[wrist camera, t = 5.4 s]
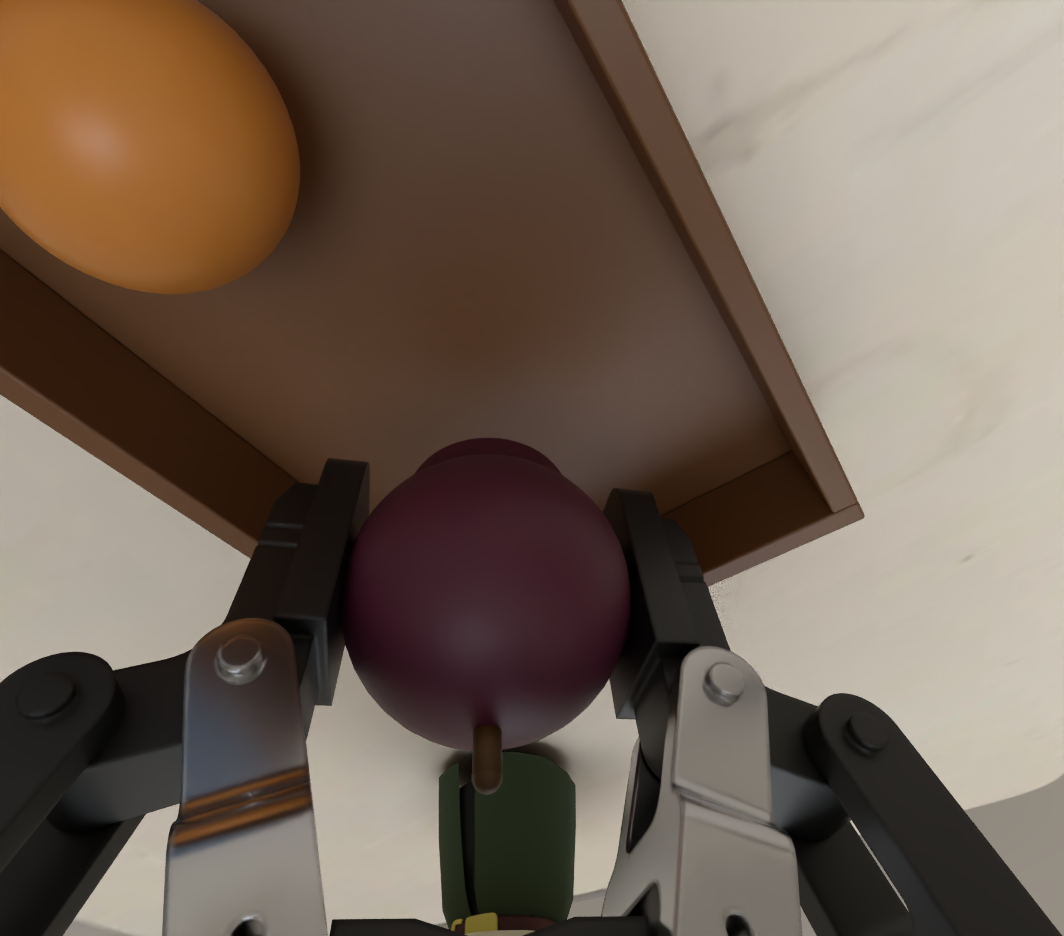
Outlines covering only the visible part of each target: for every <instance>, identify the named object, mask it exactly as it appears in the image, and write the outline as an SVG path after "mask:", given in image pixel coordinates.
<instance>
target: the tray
mask: <svg viewBox="0 0 1064 936" xmlns="http://www.w3.org/2000/svg"><path fill="white" fill-rule="evenodd" d="M197 1H199V2H200V3H202V4H203V5H204V6H206V7H207V8H208V9H210V10H211V11H213V12H214V13H215V14H217V15H218V16H219V17H220V18H221V19H222V20H223V21H224V22H226V23H227V24H228V25H229V26H230V27H231V28H232V29H233V30H234V31H235V32H236V33H237V34H238V35H239V36H240V37H241V38H242V39H243V40H244V42H245V43H246V44H247V45H248V46H249V47H250V48H251V49H252V51H253V52H254V53H255V55H256V56H257V57H258V59H259V60H260V61H261V63H262V64H263V65H264V67H265V68H266V70H267V72H268V73H269V75H270V77H271V78H272V80H273V81H274V83H275V85H276V86H277V88H278V90H279V93H280V95H281V97H282V99H283V101H284V103H285V105H286V107H287V110H288V113H289V116H290V119H291V121H292V124H293V127H294V132H295V136H296V140H297V144H298V151H299V159H300V185H299V192H298V199H297V204H296V208H295V211H294V215H293V218H292V220H291V223H290V225H289V227H288V229H287V231H286V233H285V235H284V236H283V238H282V240H281V241H280V243H279V244H278V245H277V247H276V248H275V250H274V251H273V252H272V253H271V254H270V255H269V256H268V257H267V258H266V259H265V261H264V262H262V263H261V264H260V265H259V266H258V267H256V268H255V269H254V270H252V271H251V272H249V273H248V274H247V275H245V276H243V277H241V278H239V279H237V280H235V281H233V282H231V283H229V284H226V285H224V286H221V287H218V288H215V289H212V290H207V291H201V292H196V293H188V294H158V293H148V292H141V291H136V290H131V289H126V288H123V287H120V286H116V285H113V284H110V283H107V282H105V281H102V280H100V279H97V278H95V277H92V276H90V275H88V274H85V273H83V272H81V271H79V270H78V269H76V268H74V267H72V266H70V265H68V264H66V263H65V262H63V261H62V260H60V259H58V258H57V257H55V256H54V255H52V254H51V253H49V252H48V251H47V250H45V249H44V248H43V247H41V246H40V245H39V244H37V243H36V242H35V241H34V240H32V239H31V238H30V237H29V236H28V235H27V234H26V233H24V232H23V231H22V230H21V229H20V228H19V227H18V226H17V225H16V224H15V223H14V222H13V221H12V220H11V219H10V218H9V217H8V216H7V215H6V213H5V212H4V211H3V210H2V209H1V207H0V394H1V395H2V396H4V397H5V398H7V399H8V400H10V401H11V402H13V403H14V404H16V405H17V406H19V407H20V408H22V409H23V410H25V411H26V412H28V413H29V414H31V415H33V416H34V417H36V418H37V419H39V420H40V421H42V422H43V423H45V424H46V425H48V426H49V427H51V428H52V429H54V430H55V431H57V432H58V433H60V434H61V435H63V436H64V437H66V438H68V439H69V440H71V441H72V442H74V443H75V444H77V445H78V446H80V447H81V448H83V449H84V450H86V451H87V452H89V453H90V454H92V455H93V456H95V457H96V458H98V459H100V460H101V461H103V462H104V463H106V464H107V465H109V466H110V467H112V468H113V469H115V470H116V471H118V472H119V473H121V474H122V475H124V476H125V477H127V478H128V479H130V480H132V481H133V482H135V483H136V484H138V485H139V486H141V487H142V488H144V489H145V490H147V491H148V492H150V493H151V494H153V495H154V496H156V497H157V498H159V499H160V500H162V501H163V502H165V503H167V504H168V505H170V506H171V507H173V508H174V509H176V510H177V511H179V512H180V513H182V514H183V515H185V516H186V517H188V518H189V519H191V520H192V521H194V522H195V523H197V524H199V525H200V526H202V527H203V528H205V529H206V530H208V531H209V532H211V533H212V534H214V535H215V536H217V537H218V538H220V539H221V540H223V541H224V542H226V543H227V544H229V545H231V546H232V547H234V548H235V549H237V550H238V551H240V552H241V553H243V554H244V555H246V556H247V557H249V558H250V559H251V557H252V555H253V552H254V550H255V548H256V546H258V540H259V538H260V536H261V533H262V531H263V529H264V527H266V521H267V519H268V517H269V514H270V512H271V509H272V507H273V505H274V502H275V500H276V499H277V498H279V497H280V496H281V495H282V494H283V493H284V492H285V491H286V490H287V489H288V488H290V487H291V486H292V485H293V484H294V483H295V482H297V483H307V484H318V483H319V481H320V478H321V475H322V472H323V469H324V466H325V463H326V461H327V459H328V458H335V459H345V460H355V461H365V462H369V466H370V494H369V515H370V514H371V513H372V511H373V510H374V509H375V508H376V506H377V505H378V504H379V503H380V502H381V501H382V500H383V499H384V498H385V497H386V496H387V495H388V494H389V493H390V492H391V491H392V490H393V489H394V488H396V487H397V486H398V485H400V484H401V483H402V482H404V481H405V480H407V479H408V478H409V477H411V476H412V475H414V474H415V472H416V471H417V469H418V468H419V467H420V466H421V464H422V463H424V462H425V461H426V460H427V459H428V458H429V457H430V456H431V455H433V454H434V453H436V452H437V451H439V450H441V449H442V448H444V447H446V446H449V445H451V444H454V443H456V442H460V441H464V440H468V439H475V438H502V439H508V440H512V441H516V442H520V443H523V444H525V445H527V446H530V447H532V448H534V449H536V450H537V451H539V452H541V453H542V454H543V455H545V456H546V457H547V458H548V459H549V460H550V461H551V462H552V463H554V464H555V466H556V467H557V468H558V470H559V471H560V472H561V474H562V475H563V476H564V477H566V478H567V479H569V480H570V481H571V482H573V483H574V484H575V485H577V486H578V487H579V488H580V489H582V490H583V491H584V492H585V493H586V494H587V495H588V496H589V497H590V498H591V499H592V500H593V501H594V503H595V504H596V505H597V506H598V507H599V509H600V510H601V511H602V513H603V511H604V508H605V505H606V502H607V499H608V496H609V494H610V492H611V490H612V489H613V488H623V489H632V490H642V491H650V492H651V493H652V494H653V496H654V499H655V502H656V505H657V508H658V512H659V515H660V518H667V519H674V520H675V521H676V522H677V524H678V525H679V526H680V527H681V528H682V530H683V531H684V532H685V533H686V534H687V536H688V537H689V538H690V540H691V542H692V545H693V548H694V551H695V554H696V556H697V559H698V562H697V563H698V564H699V565H700V567H701V570H702V573H703V576H704V582H706V584H707V587H708V586H710V585H713V584H715V583H717V582H719V581H722V580H724V579H726V578H729V577H731V576H733V575H735V574H738V573H740V572H742V571H744V570H747V569H749V568H751V567H754V566H756V565H758V564H760V563H763V562H765V561H767V560H770V559H772V558H774V557H776V556H779V555H781V554H783V553H785V552H788V551H790V550H792V549H795V548H797V547H799V546H801V545H804V544H806V543H808V542H811V541H813V540H815V539H817V538H820V537H822V536H824V535H826V534H829V533H831V532H833V531H836V530H838V529H840V528H842V527H845V526H847V525H849V524H852V523H854V522H856V521H858V520H861V519H863V518H864V513H863V511H862V509H861V507H860V504H859V502H858V501H857V498H856V496H855V494H854V492H853V490H852V487H851V485H850V483H849V481H848V479H847V477H846V475H845V473H844V471H843V468H842V466H841V464H840V462H839V460H838V458H837V456H836V454H835V451H834V449H833V447H832V445H831V443H830V441H829V439H828V437H827V435H826V432H825V430H824V428H823V426H822V424H821V422H820V420H819V418H818V415H817V413H816V411H815V409H814V407H813V405H812V403H811V401H810V399H809V396H808V394H807V392H806V390H805V388H804V386H803V384H802V382H801V379H800V377H799V375H798V373H797V371H796V369H795V367H794V365H793V363H792V360H791V358H790V356H789V354H788V352H787V350H786V348H785V346H784V343H783V341H782V339H781V337H780V335H779V333H778V331H777V329H776V327H775V324H774V322H773V320H772V318H771V316H770V314H769V312H768V310H767V308H766V305H765V303H764V301H763V299H762V297H761V295H760V293H759V291H758V288H757V286H756V284H755V282H754V280H753V278H752V276H751V274H750V272H749V269H748V267H747V265H746V263H745V261H744V259H743V257H742V255H741V252H740V250H739V248H738V246H737V244H736V242H735V240H734V238H733V236H732V233H731V231H730V229H729V227H728V225H727V223H726V221H725V219H724V216H723V214H722V212H721V210H720V208H719V206H718V204H717V202H716V200H715V197H714V195H713V193H712V191H711V189H710V187H709V185H708V183H707V180H706V178H705V176H704V174H703V172H702V170H701V168H700V166H699V164H698V161H697V159H696V157H695V155H694V153H693V151H692V149H691V147H690V144H689V142H688V140H687V138H686V136H685V134H684V132H683V130H682V128H681V125H680V123H679V121H678V119H677V117H676V115H675V113H674V111H673V108H672V106H671V104H670V102H669V100H668V98H667V96H666V94H665V92H664V89H663V87H662V85H661V83H660V81H659V79H658V77H657V75H656V72H655V70H654V68H653V66H652V64H651V62H650V60H649V58H648V56H647V53H646V51H645V49H644V47H643V45H642V43H641V41H640V39H639V36H638V34H637V32H636V30H635V28H634V26H633V24H632V22H631V20H630V17H629V15H628V13H627V11H626V9H625V7H624V5H623V3H622V0H197Z"/></svg>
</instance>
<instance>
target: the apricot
mask: <svg viewBox="0 0 1064 936" xmlns="http://www.w3.org/2000/svg"><path fill="white" fill-rule="evenodd" d="M299 185H300V159H299V151H298V144H297V140H296V136H295V132H294V127H293V124H292V121H291V119H290V116H289V113H288V110H287V107H286V105H285V103H284V101H283V99H282V97H281V95H280V93H279V90H278V88H277V86H276V85H275V83H274V81H273V80H272V78H271V77H270V75H269V73H268V72H267V70H266V68H265V67H264V65H263V64H262V63H261V61H260V60H259V59H258V57H257V56H256V55H255V53H254V52H253V51H252V49H251V48H250V47H249V46H248V45H247V44H246V43H245V42H244V40H243V39H242V38H241V37H240V36H239V35H238V34H237V33H236V32H235V31H234V30H233V29H232V28H231V27H230V26H229V25H228V24H227V23H226V22H224V21H223V20H222V19H221V18H220V17H219V16H218V15H217V14H215V13H214V12H213V11H211V10H210V9H208V8H207V7H206V6H204V5H203V4H202V3H200V2H199V1H197V0H0V207H1V209H2V210H3V211H4V212H5V213H6V215H7V216H8V217H9V218H10V219H11V220H12V221H13V222H14V223H15V224H16V225H17V226H18V227H19V228H20V229H21V230H22V231H23V232H24V233H26V234H27V235H28V236H29V237H30V238H31V239H32V240H34V241H35V242H36V243H37V244H39V245H40V246H41V247H43V248H44V249H45V250H47V251H48V252H49V253H51V254H52V255H54V256H55V257H57V258H58V259H60V260H62V261H63V262H65V263H66V264H68V265H70V266H72V267H74V268H76V269H78V270H79V271H81V272H83V273H85V274H88V275H90V276H92V277H95V278H97V279H100V280H102V281H105V282H107V283H110V284H113V285H116V286H120V287H123V288H126V289H131V290H136V291H141V292H148V293H158V294H188V293H196V292H201V291H207V290H212V289H215V288H218V287H221V286H224V285H226V284H229V283H231V282H233V281H235V280H237V279H239V278H241V277H243V276H245V275H247V274H248V273H249V272H251V271H252V270H254V269H255V268H256V267H258V266H259V265H260V264H261V263H262V262H264V261H265V259H266V258H267V257H268V256H269V255H270V254H271V253H272V252H273V251H274V250H275V248H276V247H277V245H278V244H279V243H280V241H281V240H282V238H283V236H284V235H285V233H286V231H287V229H288V227H289V225H290V223H291V220H292V218H293V215H294V211H295V208H296V204H297V199H298V192H299Z"/></svg>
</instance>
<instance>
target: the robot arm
mask: <svg viewBox="0 0 1064 936" xmlns="http://www.w3.org/2000/svg"><path fill="white" fill-rule="evenodd" d="M369 494H370V466H369V462H365V461H355V460H345V459H335V458H328V459H327V461H326V463H325V466H324V469H323V472H322V475H321V478H320V481H319V483H318V484H307V483H297V482H295V483H294V484H293V485H292V486H291V487H290V488H288V489H287V490H286V491H285V492H284V493H283V494H282V495H281V496H280V497H279V498H277V499H276V500H275V502H274V505H273V507H272V509H271V512H270V514H269V517H268V519H267V521H266V527H264V529H263V531H262V533H261V536H260V538H259V540H258V546H256V548H255V550H254V552H253V555H252V557H251V560H250V562H249V564H248V567H247V569H246V572H245V574H244V576H243V579H242V581H241V584H240V586H239V588H238V591H237V593H236V595H235V598H234V600H233V603H232V605H231V607H230V610H229V612H228V614H227V616H226V618H225V620H224V622H223V623H222V625H220V626H219V627H217V628H215V629H213V630H212V631H210V632H209V633H207V634H206V635H205V636H204V637H202V638H201V639H200V640H199V641H198V642H197V644H196V645H195V646H194V647H193V649H191V650H189V651H187V652H185V653H183V654H180V655H178V656H175V657H172V658H168V659H164V660H160V661H155V662H151V663H146V664H142V665H137V666H132V667H128V668H123V669H118V670H114V671H113V670H112V668H111V666H110V665H109V664H108V663H107V662H106V661H105V660H103V659H102V658H100V657H98V656H96V655H93V654H89V653H84V652H66V653H59V654H54V655H50V656H47V657H44V658H41V659H38V660H36V661H34V662H31V663H29V664H27V665H25V666H24V667H22V668H20V669H18V670H17V671H15V672H14V673H12V674H11V675H9V676H8V677H7V678H5V679H4V680H3V681H2V682H1V683H0V936H63V934H64V933H65V931H66V930H67V928H68V927H69V926H70V924H71V923H72V921H73V920H74V918H75V917H76V915H77V914H78V912H79V911H80V909H81V908H82V907H83V905H84V904H85V902H86V901H87V899H88V898H89V896H90V895H91V893H92V892H93V891H94V889H95V888H96V886H97V885H98V883H99V882H100V880H101V879H102V877H103V876H104V874H105V873H106V872H107V870H108V869H109V867H110V866H111V864H112V863H113V861H114V860H115V858H116V857H117V855H118V854H119V853H120V851H121V850H122V848H123V847H124V845H125V844H126V842H127V841H128V839H129V838H130V837H131V835H132V834H133V832H134V831H135V829H136V828H137V826H138V825H139V823H140V822H141V820H142V819H143V818H144V816H145V815H146V813H149V812H153V811H156V810H159V809H163V808H166V807H169V806H172V805H176V804H179V803H180V806H179V813H178V817H177V820H176V821H175V822H173V824H172V825H171V828H170V832H169V836H168V843H167V852H166V867H165V887H164V907H163V928H162V936H328V931H327V922H326V913H325V905H324V896H323V887H322V879H321V870H320V862H319V853H318V844H317V835H316V827H315V818H314V809H313V800H312V792H311V783H310V774H309V765H308V757H307V748H306V739H307V736H308V732H309V728H310V723H311V719H312V715H313V711H314V707H315V705H326V706H332V701H333V697H334V692H335V687H336V683H337V678H338V674H339V669H340V665H341V660H342V656H343V651H344V647H345V641H344V636H343V630H342V624H341V598H342V590H343V582H344V575H345V570H346V564H347V559H348V556H349V553H350V550H351V547H352V545H353V543H354V541H355V539H356V537H357V535H358V533H359V531H360V529H361V528H362V526H363V524H364V522H365V521H366V519H367V518H368V517H369ZM603 514H604V515H605V517H606V518H607V519H608V521H609V523H610V525H611V527H612V529H613V530H614V532H615V534H616V536H617V538H618V540H619V542H620V545H621V548H622V551H623V554H624V557H625V561H626V564H627V568H628V573H629V580H630V589H631V613H630V620H629V627H628V632H627V637H626V641H625V644H624V647H623V649H622V652H621V655H620V658H619V660H618V663H617V665H616V667H615V669H614V671H613V672H612V674H611V676H610V684H611V690H612V696H613V702H614V708H615V714H616V719H636V723H637V728H638V733H639V737H638V739H637V741H636V743H635V745H634V747H633V751H632V758H631V765H630V772H629V779H628V785H627V792H626V799H625V806H624V813H623V820H622V827H621V834H620V841H619V847H618V854H617V859H616V863H615V867H614V870H613V873H612V876H611V879H610V882H609V885H608V888H607V891H606V895H605V899H604V904H603V908H602V914H601V917H573V918H571V919H568V920H565V921H562V922H559V923H556V924H554V925H551V926H548V927H545V928H542V929H540V930H537V931H534V932H531V933H528V934H526V935H523V936H802V925H801V911H800V906H801V907H802V909H803V911H804V913H805V915H806V917H807V918H808V920H809V922H810V924H811V926H812V928H813V930H814V931H815V933H816V935H817V936H1062V935H1061V934H1060V932H1059V931H1058V930H1057V929H1056V927H1055V926H1054V925H1053V924H1052V923H1051V921H1050V920H1049V918H1048V917H1047V916H1046V915H1045V913H1044V912H1043V911H1042V909H1041V908H1040V907H1039V906H1038V904H1037V903H1036V902H1035V901H1034V899H1033V898H1032V897H1031V895H1030V894H1029V893H1028V892H1027V890H1026V889H1025V888H1024V887H1023V885H1022V884H1021V883H1020V882H1019V880H1018V879H1017V878H1016V876H1015V875H1014V874H1013V873H1012V871H1011V870H1010V869H1009V868H1008V866H1007V865H1006V864H1005V863H1004V861H1003V860H1002V859H1001V857H1000V856H999V855H998V854H997V852H996V851H995V850H994V848H993V847H992V846H991V845H990V843H989V842H988V841H987V839H986V838H985V837H984V836H983V834H982V833H981V832H980V831H979V829H978V828H977V827H976V826H975V824H974V823H973V822H972V820H971V819H970V818H969V817H968V815H967V814H966V813H965V811H964V810H963V809H962V808H961V806H960V805H959V804H958V802H957V801H956V800H955V799H954V797H953V796H952V795H951V794H950V792H949V791H948V790H947V788H946V787H945V786H944V785H943V783H942V782H941V781H940V780H939V778H938V777H937V776H936V774H935V773H934V772H933V771H932V769H931V768H930V767H929V766H928V764H927V763H926V762H925V760H924V759H923V758H922V757H921V755H920V754H919V753H918V752H917V750H916V749H915V748H914V746H913V745H912V744H911V743H910V741H909V740H908V739H907V738H906V736H905V735H904V734H903V732H902V731H901V730H900V729H899V727H898V726H897V725H896V724H895V723H894V721H893V720H892V719H891V718H890V717H889V716H888V715H887V714H886V713H885V712H883V711H882V710H881V709H880V708H878V707H877V706H876V705H874V704H872V703H871V702H869V701H867V700H865V699H863V698H861V697H858V696H855V695H851V694H845V693H839V694H833V695H831V696H829V697H827V698H826V699H825V700H824V701H823V702H822V703H821V704H820V705H819V706H815V705H812V704H809V703H807V702H804V701H801V700H798V699H796V698H793V697H790V696H787V695H784V694H782V693H779V692H776V691H774V690H772V689H769V688H768V687H766V686H764V684H763V682H762V680H761V678H760V677H759V675H758V674H757V672H756V671H755V670H754V669H753V668H752V666H751V665H749V664H748V663H747V662H746V661H745V660H744V659H742V658H741V657H740V656H738V655H736V654H735V653H733V652H731V650H730V648H729V646H728V643H727V640H726V637H725V634H724V632H723V629H722V626H721V623H720V621H719V618H718V615H717V612H716V609H715V607H714V604H713V601H712V598H711V595H710V593H709V590H708V587H707V584H706V582H704V576H703V573H702V570H701V567H700V565H699V564H698V563H697V562H698V559H697V556H696V554H695V551H694V548H693V545H692V542H691V540H690V538H689V537H688V536H687V534H686V533H685V532H684V531H683V530H682V528H681V527H680V526H679V525H678V524H677V522H676V521H675V520H674V519H667V518H660V515H659V512H658V508H657V505H656V502H655V499H654V496H653V494H652V493H651V492H650V491H642V490H632V489H623V488H613V489H612V490H611V492H610V494H609V496H608V499H607V502H606V505H605V508H604V511H603ZM851 820H852V821H853V823H854V824H855V826H856V827H857V829H858V831H859V832H860V834H861V835H862V837H863V838H864V840H865V841H866V843H867V844H868V846H869V847H870V849H871V851H872V852H873V854H874V855H875V857H876V858H877V860H878V861H879V863H880V864H881V865H882V867H883V869H884V871H885V872H886V874H887V875H888V877H889V878H890V880H891V881H892V883H893V884H894V886H895V887H896V889H897V890H898V892H899V893H900V895H901V897H902V898H903V900H904V902H905V903H906V905H907V908H908V910H909V912H908V910H907V909H906V908H905V906H904V905H903V903H902V902H901V900H900V899H899V897H898V896H897V894H896V892H895V891H894V889H893V888H892V886H891V885H890V883H889V882H888V880H887V879H886V877H885V875H884V874H883V873H882V871H881V869H880V868H879V866H878V865H877V863H876V861H875V860H874V858H873V857H872V855H871V854H870V852H869V851H868V849H867V848H866V846H865V844H864V843H863V841H862V840H861V838H860V837H859V835H858V834H857V832H856V831H855V829H854V827H853V826H852V824H851V823H850V821H851ZM330 936H468V935H464V934H461V933H458V932H455V931H452V930H449V929H446V928H442V927H439V926H436V925H433V924H430V923H427V922H424V921H421V920H417V919H339V920H332V925H331V931H330Z"/></svg>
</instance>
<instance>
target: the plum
mask: <svg viewBox="0 0 1064 936" xmlns="http://www.w3.org/2000/svg"><path fill="white" fill-rule="evenodd" d="M630 613H631V589H630V580H629V573H628V568H627V564H626V561H625V557H624V554H623V551H622V548H621V545H620V542H619V540H618V538H617V536H616V534H615V532H614V530H613V529H612V527H611V525H610V523H609V521H608V519H607V518H606V517H605V515H604V514H603V513H602V511H601V510H600V509H599V507H598V506H597V505H596V504H595V503H594V501H593V500H592V499H591V498H590V497H589V496H588V495H587V494H586V493H585V492H584V491H583V490H582V489H580V488H579V487H578V486H577V485H575V484H574V483H573V482H571V481H570V480H569V479H567V478H566V477H564V476H563V475H562V474H561V472H560V471H559V470H558V468H557V467H556V466H555V464H554V463H552V462H551V461H550V460H549V459H548V458H547V457H546V456H545V455H543V454H542V453H541V452H539V451H537V450H536V449H534V448H532V447H530V446H527V445H525V444H523V443H520V442H516V441H512V440H508V439H502V438H475V439H468V440H464V441H460V442H456V443H454V444H451V445H449V446H446V447H444V448H442V449H441V450H439V451H437V452H436V453H434V454H433V455H431V456H430V457H429V458H428V459H427V460H426V461H425V462H424V463H422V464H421V466H420V467H419V468H418V469H417V471H416V472H415V474H414V475H412V476H411V477H409V478H408V479H407V480H405V481H404V482H402V483H401V484H400V485H398V486H397V487H396V488H394V489H393V490H392V491H391V492H390V493H389V494H388V495H387V496H386V497H385V498H384V499H383V500H382V501H381V502H380V503H379V504H378V505H377V506H376V508H375V509H374V510H373V511H372V513H371V514H370V515H369V517H368V518H367V519H366V521H365V522H364V524H363V526H362V528H361V529H360V531H359V533H358V535H357V537H356V539H355V541H354V543H353V545H352V547H351V550H350V553H349V556H348V559H347V564H346V570H345V575H344V582H343V590H342V598H341V624H342V630H343V636H344V641H345V645H346V648H347V651H348V653H349V656H350V659H351V662H352V664H353V667H354V670H355V671H356V673H357V675H358V677H359V678H360V680H361V682H362V683H363V685H364V687H365V688H366V690H367V691H368V693H369V694H370V695H371V696H372V698H373V699H374V700H375V701H376V702H377V703H378V705H379V706H380V707H381V708H382V709H383V710H384V711H385V712H386V713H387V714H388V715H389V716H391V717H392V718H393V719H394V720H396V721H397V722H398V723H399V724H401V725H402V726H403V727H405V728H406V729H408V730H409V731H411V732H413V733H415V734H417V735H419V736H421V737H423V738H425V739H427V740H429V741H432V742H434V743H437V744H440V745H443V746H447V747H451V748H456V749H463V750H471V751H473V752H472V783H473V786H474V787H475V789H476V790H477V791H478V792H479V793H481V794H485V795H488V794H492V793H494V792H495V791H497V790H498V788H499V787H500V785H501V783H502V750H504V749H510V748H515V747H519V746H523V745H527V744H530V743H533V742H535V741H538V740H540V739H542V738H544V737H546V736H548V735H550V734H552V733H554V732H555V731H557V730H559V729H561V728H563V727H564V726H565V725H567V724H568V723H570V722H571V721H572V720H573V719H574V718H576V717H577V716H578V715H579V714H580V713H581V712H583V711H584V710H585V709H586V708H587V707H588V706H589V705H590V704H591V702H592V701H593V700H594V699H595V698H596V696H597V695H598V694H599V693H600V691H601V690H602V689H603V688H604V686H605V685H606V683H607V681H608V679H609V678H610V676H611V674H612V672H613V671H614V669H615V667H616V665H617V663H618V660H619V658H620V655H621V652H622V649H623V647H624V644H625V641H626V637H627V632H628V627H629V620H630Z"/></svg>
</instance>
